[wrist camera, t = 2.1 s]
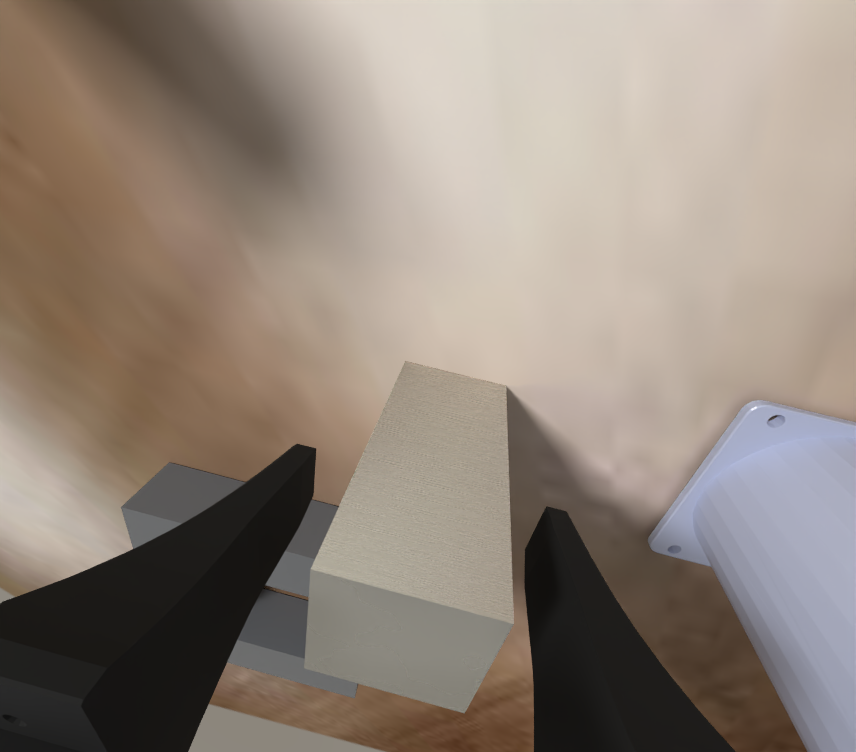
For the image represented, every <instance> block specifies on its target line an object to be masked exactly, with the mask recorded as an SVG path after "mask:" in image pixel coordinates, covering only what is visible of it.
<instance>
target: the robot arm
mask: <svg viewBox="0 0 856 752" xmlns="http://www.w3.org/2000/svg"><path fill="white" fill-rule="evenodd" d="M775 415H778V416H777V417H776V418H775V419H773V420H770V421H768V419H769V418H771V417H772V416H775ZM315 460H316V448H312V447H308V446H304V445H300V444H296V445H294V446H293V447H291V448H290V449H289V450H288V451H286V452H285V453H284V454H283V455H281V456H280V457H279V458H278V459H276V460H275V461H274V462H273V463H271V464H270V465H269V466H267V467H266V468H265V469H263V470H262V471H261V472H260V473H258V474H257V475H255V476H254V477H253V478H251V479H250V480H249V481H247V482H246V483H244V484H243V485H242V486H240V487H239V488H237V489H236V490H235V491H233V492H232V493H230V494H229V495H227V496H226V497H224V498H223V499H221V500H219V501H218V502H216V503H215V504H213V505H212V506H210V507H209V508H207V509H206V510H204V511H202V512H201V513H199V514H197V515H196V516H194V517H192V518H191V519H189V520H187V521H186V522H184V523H182V524H180V525H178V526H177V527H175V528H173V529H171V530H170V531H168V532H166V533H164V534H162V535H160V536H158V537H156V538H154V539H152V540H150V541H148V542H146V543H145V544H143V545H141V546H138V547H136V548H134V549H132V550H130V551H128V552H126V553H124V554H122V555H119V556H117V557H115V558H113V559H110V560H108V561H106V562H104V563H101V564H99V565H97V566H94V567H92V568H90V569H88V570H85V571H83V572H81V573H78V574H76V575H73V576H71V577H68V578H66V579H63V580H61V581H58V582H55V583H53V584H50V585H47V586H45V587H42V588H39V589H36V590H34V591H31V592H28V593H26V594H23V595H20V596H18V597H15V598H12V599H9V600H6V601H4V602H2V603H1V604H0V752H188V751H189V748H190V746H191V743H192V741H193V739H194V736H195V734H196V731H197V729H198V727H199V724H200V722H201V720H202V718H203V715H204V713H205V711H206V709H207V706H208V704H209V702H210V699H211V697H212V695H213V693H214V690H215V688H216V686H217V683H218V681H219V679H220V677H221V675H222V672H223V670H224V668H225V666H226V664H227V661H228V659H229V657H230V655H231V653H232V650H233V648H234V646H235V644H236V642H237V640H238V638H239V635H240V633H241V631H242V629H243V627H244V625H245V623H246V621H247V619H248V616H249V614H250V612H251V610H252V608H253V606H254V604H255V603H256V601H257V599H258V597H259V595H260V593H261V592H262V590H263V588H264V586H265V585H266V583H267V581H268V580H269V578H270V576H271V574H272V573H273V571H274V569H275V568H276V566H277V564H278V563H279V561H280V559H281V557H282V556H283V554H284V552H285V551H286V549H287V547H288V545H289V544H290V542H291V540H292V539H293V537H294V535H295V533H296V532H297V530H298V528H299V526H300V524H301V522H302V520H303V518H304V516H305V513H306V511H307V509H308V506H309V504H310V502H311V499H312V497H313V493H314V476H315ZM648 543H649V546H650V548H651V550H653V551H654V552H656V553H660V554H664V555H667V556H671V557H675V558H679V559H683V560H687V561H691V562H695V563H698V564H702V565H706V566H710V567H712V568H713V570H714V572H715V574H716V576H717V578H718V580H719V582H720V584H721V586H722V588H723V590H724V592H725V594H726V595H727V597H728V599H729V601H730V603H731V605H732V607H733V609H734V611H735V613H736V615H737V617H738V619H739V621H740V622H741V624H742V626H743V628H744V630H745V632H746V634H747V636H748V638H749V640H750V642H751V644H752V646H753V648H754V649H755V651H756V653H757V655H758V657H759V659H760V661H761V663H762V665H763V667H764V669H765V671H766V673H767V675H768V676H769V678H770V680H771V682H772V684H773V686H774V688H775V690H776V692H777V694H778V696H779V698H780V700H781V702H782V704H783V705H784V707H785V709H786V711H787V713H788V715H789V717H790V719H791V721H792V723H793V725H794V727H795V729H796V731H797V732H798V734H799V736H800V738H801V740H802V742H803V744H804V746H805V748H806V750H807V752H856V422H852V421H848V420H844V419H840V418H836V417H831V416H827V415H823V414H819V413H815V412H810V411H806V410H802V409H798V408H794V407H790V406H785V405H781V404H777V403H773V402H769V401H765V400H756V401H752V402H750V403H748V404H746V405H745V406H744V407H743V408H742V409H741V410H740V411H739V413H738V414H737V416H736V417H735V418H734V420H733V421H732V423H731V424H730V425H729V427H728V428H727V429H726V431H725V432H724V434H723V435H722V436H721V438H720V439H719V441H718V442H717V443H716V445H715V446H714V447H713V449H712V450H711V452H710V453H709V454H708V456H707V457H706V458H705V460H704V461H703V463H702V464H701V465H700V467H699V468H698V470H697V471H696V472H695V474H694V475H693V476H692V478H691V479H690V481H689V482H688V483H687V485H686V486H685V488H684V489H683V490H682V492H681V493H680V494H679V496H678V497H677V499H676V500H675V501H674V503H673V504H672V506H671V507H670V508H669V510H668V511H667V512H666V514H665V515H664V517H663V518H662V519H661V521H660V522H659V524H658V525H657V526H656V528H655V529H654V530H653V532H652V533H651V535H650V536H649V538H648ZM525 595H526V606H527V616H528V626H529V636H530V646H531V656H532V666H533V681H534V752H735V750H734V749H733V748H732V747H731V746H730V745H729V744H728V743H727V742H726V741H725V739H724V738H723V737H722V736H721V735H720V734H719V733H718V732H717V731H716V730H715V728H714V727H713V726H712V725H711V724H710V723H709V722H708V720H707V719H706V718H705V717H704V716H703V715H702V714H701V712H700V711H699V710H698V709H697V708H696V707H695V705H694V704H693V703H692V702H691V700H690V699H689V698H688V697H687V696H686V694H685V693H684V692H683V691H682V690H681V688H680V687H679V686H678V685H677V683H676V682H675V681H674V680H673V679H672V677H671V676H670V675H669V673H668V672H667V671H666V670H665V668H664V667H663V666H662V664H661V663H660V662H659V661H658V659H657V658H656V656H655V655H654V654H653V652H652V651H651V650H650V648H649V647H648V646H647V644H646V643H645V641H644V640H643V639H642V637H641V636H640V635H639V633H638V632H637V630H636V629H635V627H634V626H633V625H632V623H631V622H630V620H629V619H628V617H627V616H626V614H625V612H624V611H623V609H622V608H621V606H620V605H619V603H618V602H617V600H616V598H615V597H614V595H613V594H612V592H611V590H610V589H609V587H608V585H607V584H606V582H605V580H604V578H603V577H602V575H601V573H600V572H599V570H598V568H597V567H596V565H595V563H594V561H593V559H592V558H591V556H590V554H589V552H588V550H587V549H586V547H585V545H584V543H583V541H582V539H581V538H580V536H579V534H578V532H577V530H576V528H575V526H574V525H573V523H572V521H571V519H570V517H569V515H568V514H567V512H566V511H562V510H558V509H554V508H550V507H546V508H545V510H544V512H543V514H542V516H541V518H540V520H539V522H538V524H537V526H536V528H535V530H534V532H533V534H532V537H531V539H530V541H529V543H528V545H527V547H526V549H525Z"/></svg>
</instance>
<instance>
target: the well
mask: <svg viewBox="0 0 856 752" xmlns="http://www.w3.org/2000/svg"><path fill="white" fill-rule="evenodd" d="M244 483H246V482H242V481H238V480H234V479H231V478H227V477H223V476H219V475H215V474H212V473H208V472H204V471H200V470H196V469H192V468H189V467H185V466H181V465H177V464H173V463H168V464H167V465H166V466H165V467H164V468H163V469H162V470H160V471H159V472H158V473H157V474H156V475H155V476H154V477H153V478H152V479H151V480H150V481H149V482H148V483H147V484H145V485H144V486H143V487H142V488H141V489H140V490H139V491H138V492H137V493H136V494H135V495H134V496H133V497H131V498H130V499H129V500H128V501H127V502H126V503H125V504H124V505H123V506H122V507H121V509H122V512H123V515H124V519H125V522H126V526H127V529H128V532H129V536H130V539H131V543H132V546H133V549H134V548H136V547H138V546H141V545H143V544H145V543H146V542H148V541H150V540H152V539H154V538H156V537H158V536H160V535H162V534H164V533H166V532H168V531H170V530H171V529H173V528H175V527H177V526H178V525H180V524H182V523H184V522H186V521H187V520H189V519H191V518H192V517H194V516H196V515H197V514H199V513H201V512H202V511H204V510H206V509H207V508H209V507H210V506H212V505H213V504H215V503H216V502H218V501H219V500H221V499H223V498H224V497H226V496H227V495H229V494H230V493H232V492H233V491H235V490H236V489H237V488H239V487H240V486H242V485H243V484H244ZM338 508H339V507H338V506H334V505H330V504H326V503H322V502H319V501H315V500H311V502H310V504H309V506H308V509H307V511H306V513H305V516H304V518H303V520H302V522H301V524H300V526H299V528H298V530H297V532H296V533H295V535H294V537H293V539H292V540H291V542H290V544H289V545H288V547H287V549H286V551H285V552H284V554H283V556H282V557H281V559H280V561H279V563H278V564H277V566H276V568H275V569H274V571H273V573H272V574H271V576H270V578H269V580H268V581H267V583H266V586H270V587H274V588H278V589H281V590H285V591H289V592H292V593H296V594H300V595H303V596H307V597H309V586H310V570H311V567H312V565H313V563H314V561H315V558H316V556H317V554H318V552H319V550H320V547H321V545H322V543H323V541H324V539H325V536H326V534H327V532H328V530H329V528H330V525H331V523H332V521H333V519H334V517H335V514H336V512H337V510H338ZM307 616H308V601H307V600H303V599H299V598H296V597H292V596H288V595H285V594H281V593H277V592H274V591H270V590H266V589H263V590H262V592H261V593H260V595H259V597H258V599H257V601H256V603H255V604H254V606H253V608H252V610H251V612H250V614H249V616H248V619H247V621H246V623H245V625H244V627H243V629H242V631H241V633H240V635H239V638H238V640H237V642H236V644H235V646H234V648H233V650H232V653H231V655H230V657H229V659H228V661H227V662H228V663H231V664H235V665H238V666H242V667H245V668H249V669H252V670H256V671H260V672H263V673H267V674H270V675H274V676H277V677H281V678H284V679H288V680H292V681H295V682H299V683H302V684H306V685H309V686H313V687H316V688H320V689H324V690H327V691H331V692H334V693H338V694H341V695H345V696H348V697H352V698H355V695H356V691H357V687H358V683H355V682H351V681H348V680H344V679H340V678H337V677H333V676H330V675H326V674H323V673H319V672H315V671H312V670H308V669H305V668H304V663H305V647H306V632H307Z"/></svg>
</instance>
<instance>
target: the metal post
mask: <svg viewBox="0 0 856 752" xmlns="http://www.w3.org/2000/svg"><path fill="white" fill-rule="evenodd" d="M513 625H514V614H513V583H512V552H511V521H510V490H509V459H508V428H507V397H506V385H501V384H497V383H493V382H489V381H485V380H481V379H477V378H473V377H469V376H465V375H461V374H456V373H452V372H448V371H444V370H440V369H436V368H432V367H428V366H424V365H420V364H416V363H412V362H407V361H405V363H404V365H403V367H402V369H401V372H400V374H399V376H398V378H397V380H396V383H395V385H394V387H393V389H392V391H391V394H390V396H389V398H388V400H387V402H386V405H385V407H384V409H383V411H382V413H381V416H380V418H379V420H378V422H377V424H376V426H375V429H374V431H373V433H372V435H371V437H370V440H369V442H368V444H367V446H366V448H365V451H364V453H363V455H362V457H361V459H360V462H359V464H358V466H357V468H356V470H355V473H354V475H353V477H352V479H351V481H350V484H349V486H348V488H347V490H346V492H345V495H344V497H343V499H342V501H341V503H340V506H339V508H338V510H337V512H336V514H335V517H334V519H333V521H332V523H331V525H330V528H329V530H328V532H327V534H326V536H325V539H324V541H323V543H322V545H321V547H320V550H319V552H318V554H317V556H316V558H315V561H314V563H313V565H312V567H311V570H310V586H309V601H308V616H307V632H306V647H305V663H304V668H305V669H308V670H312V671H315V672H319V673H323V674H326V675H330V676H333V677H337V678H340V679H344V680H348V681H351V682H355V683H358V684H362V685H365V686H369V687H373V688H376V689H380V690H383V691H387V692H390V693H394V694H398V695H401V696H405V697H408V698H412V699H415V700H419V701H423V702H426V703H430V704H433V705H437V706H440V707H444V708H448V709H451V710H455V711H458V712H462V713H465V711H466V710H467V708H468V706H469V704H470V702H471V701H472V699H473V697H474V695H475V693H476V691H477V690H478V688H479V686H480V684H481V682H482V681H483V679H484V677H485V675H486V673H487V672H488V670H489V668H490V666H491V664H492V663H493V661H494V659H495V657H496V655H497V654H498V652H499V650H500V648H501V646H502V644H503V643H504V641H505V639H506V637H507V635H508V634H509V632H510V630H511V628H512V626H513Z"/></svg>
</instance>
